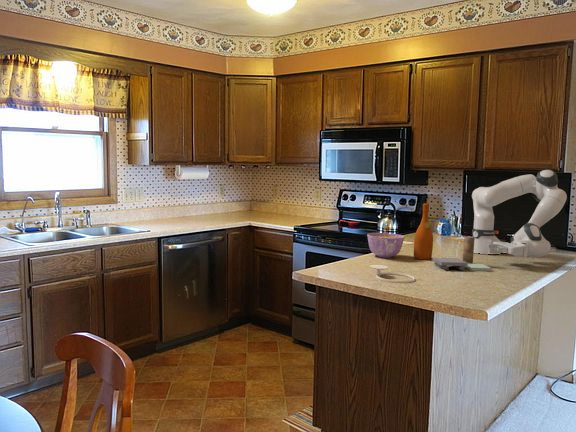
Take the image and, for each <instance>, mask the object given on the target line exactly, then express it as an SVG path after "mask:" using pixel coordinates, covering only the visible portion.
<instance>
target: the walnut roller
mask: <svg viewBox="0 0 576 432" xmlns="http://www.w3.org/2000/svg"><path fill="white" fill-rule="evenodd" d="M474 241H475V238H473V236H464V238H463V252H462V260H463V261H465V262H467V263H468V264H474V254H475V253H474Z"/></svg>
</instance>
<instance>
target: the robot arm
mask: <svg viewBox="0 0 576 432" xmlns="http://www.w3.org/2000/svg"><path fill="white" fill-rule="evenodd" d="M558 184H559V180H558V174H557V173H556V171H554V170H552V169H547V168H546V169H542V170H540V171H538V173H537V174H536V176H535V175H534V174H524V175H523V174H522V175H519V176H515V177H512V178H509V179H506V180H503V181H500V182H499V183H497V184H494V185H492V186H487V187H486V186H479V187H478V188H475V189H474V190H473V191H472V192H471V193H472V194H471V198H472V203H473V213H474V215H473V216H474V217H473V219H474V220H473V228H472V233H471V234H472V237H473V238H475V241H474V254H478V253H480V254H479V255H488V254H498V253H503V252H506V253H507V254H508V255H509V254H510V255H512V256H513V257H517V258H520V257H522V258H527V257H530V258H531V257H532V258H539V257H541V258H543V257H546V256H548V254H549V253H550V251H551V248H552V247H551V245H552V244H551V242H550V241H549V240H547V239H546V238H545V237H544V236H543V234H542V231H541V227H543V226H544V225H545V224H546V223H548V222H549V221H550V220H551V219H553V218H555V216H556V215H558V214H559V213H560V212H561V210H562V209H563V207H564V205H565V203H566V201H567V198H568V196H567V193H566V191H565V190H563V189H561V188H559V187H558ZM529 193H531V194H532V198H533V199H535V201H536V202H538V204H537V206H536V208H535V210H534V212H533V213H532V215H531V218H530V219H529V221H528V222H526V223H524V224H523V226H522V227H521V228H520V229H518V231H516V232H515V233H514V235H512V236H511V237H510V242H507V241H506V242H505V241H501V240H500V239H499V238H498V237H497V236H496V235H498V234H499V230H496V229H495V230H494V225H495V214H494V209H493V207H495V206H497V205H500V204H501V203H503V202H505V201H508V200H510V199H514V198H516V197H519V196H522V195H525V194H529Z"/></svg>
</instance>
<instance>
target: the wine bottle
mask: <svg viewBox="0 0 576 432" xmlns="http://www.w3.org/2000/svg"><path fill="white" fill-rule="evenodd" d="M429 209H430V204H429V203H428V202H425V203H423V204H422V218H421V221H420V224H419V226H418V228H417V229H416V232H415V234H414V240H413V257H414V259H417V260H421V261H422V260H425V261H428V260H431V259H433V248H434V247H433V246H434V235H433V231H432V228H431V222H430V220H429V212H430V210H429Z"/></svg>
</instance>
